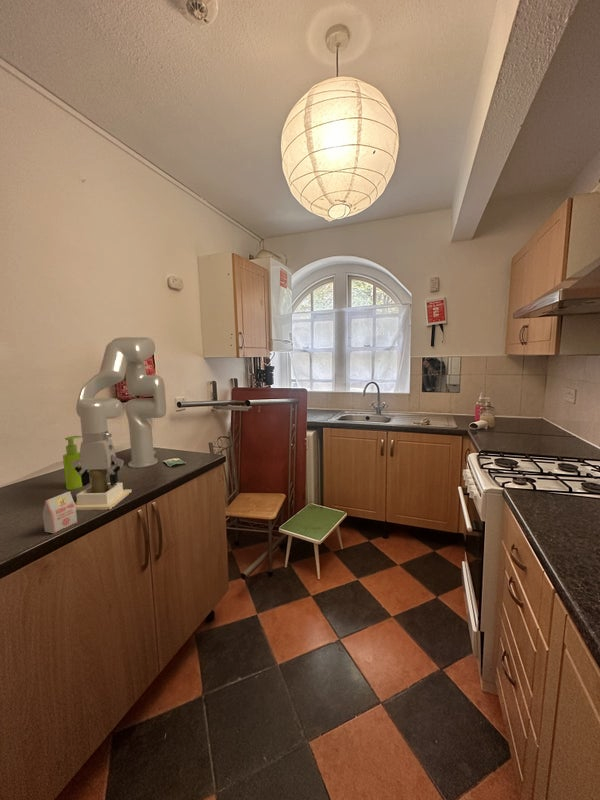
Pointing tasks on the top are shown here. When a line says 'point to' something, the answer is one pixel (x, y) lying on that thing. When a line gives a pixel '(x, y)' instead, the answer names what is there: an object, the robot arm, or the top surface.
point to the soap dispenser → (70, 473)
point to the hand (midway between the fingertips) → (100, 484)
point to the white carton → (59, 512)
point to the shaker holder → (101, 498)
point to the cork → (99, 481)
